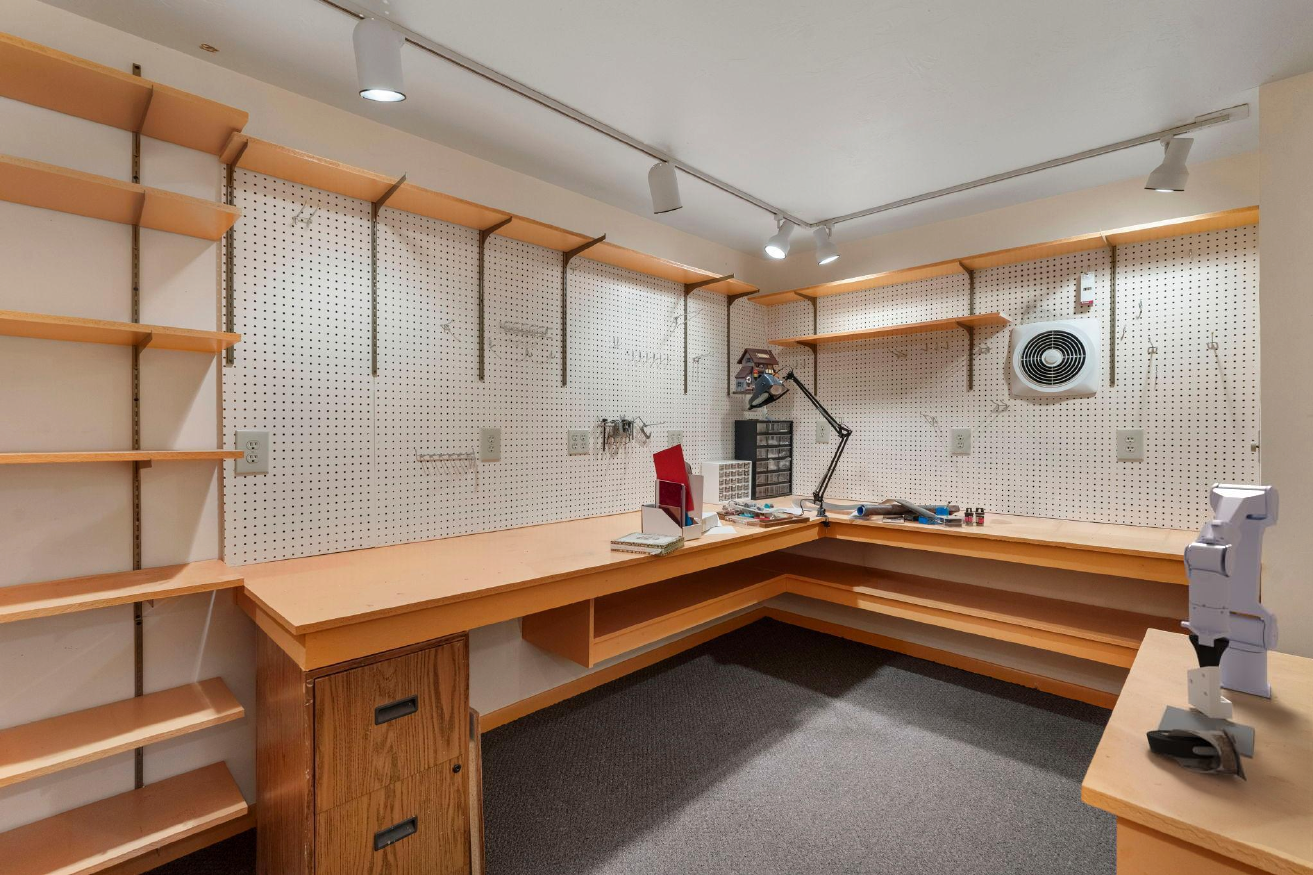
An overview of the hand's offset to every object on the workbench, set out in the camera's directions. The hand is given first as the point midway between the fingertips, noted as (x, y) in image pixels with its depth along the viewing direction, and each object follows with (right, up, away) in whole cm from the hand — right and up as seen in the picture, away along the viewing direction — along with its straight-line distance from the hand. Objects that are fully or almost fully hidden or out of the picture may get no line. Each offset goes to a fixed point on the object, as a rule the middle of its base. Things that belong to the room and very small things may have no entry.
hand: (1208, 673), depth 111 cm
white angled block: (0, -7, -1) cm, 7 cm away
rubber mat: (-7, -8, -7) cm, 13 cm away
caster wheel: (-20, -8, -17) cm, 28 cm away
